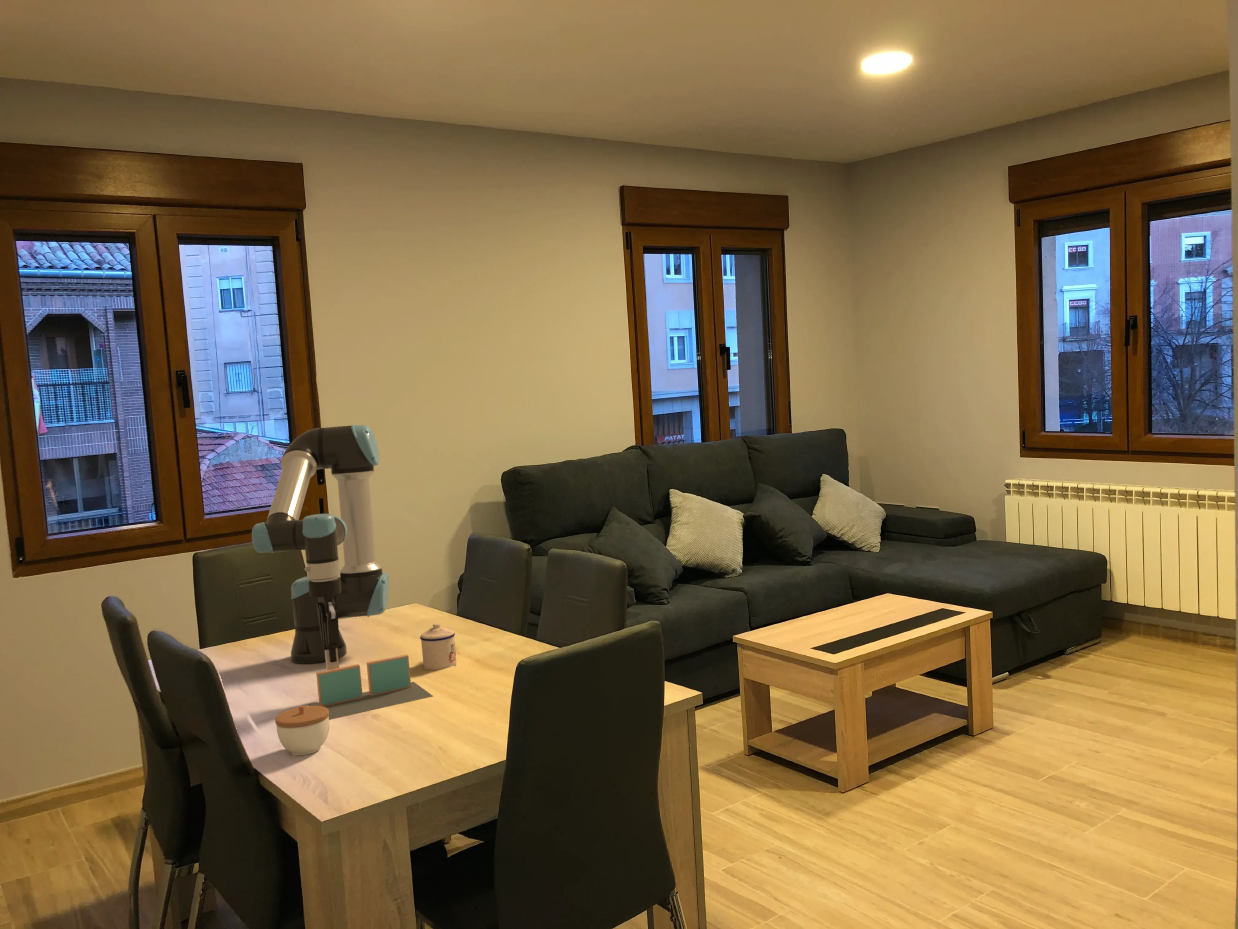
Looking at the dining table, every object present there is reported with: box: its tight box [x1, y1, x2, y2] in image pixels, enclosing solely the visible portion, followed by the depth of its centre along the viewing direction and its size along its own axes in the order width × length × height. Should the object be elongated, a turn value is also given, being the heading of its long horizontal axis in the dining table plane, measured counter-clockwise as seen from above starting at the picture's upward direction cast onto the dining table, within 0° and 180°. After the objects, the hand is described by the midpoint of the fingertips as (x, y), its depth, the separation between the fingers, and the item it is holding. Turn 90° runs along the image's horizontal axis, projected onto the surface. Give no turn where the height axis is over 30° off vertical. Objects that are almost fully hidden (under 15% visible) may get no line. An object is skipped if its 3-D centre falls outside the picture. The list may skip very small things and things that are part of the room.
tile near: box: [315, 663, 363, 707], centre depth 238 cm, size 2×10×8 cm, turn 120°
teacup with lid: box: [419, 622, 457, 671], centre depth 265 cm, size 12×9×12 cm
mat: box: [307, 681, 434, 721], centre depth 238 cm, size 15×26×1 cm, turn 120°
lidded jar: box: [274, 705, 330, 756], centre depth 208 cm, size 11×11×9 cm
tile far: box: [366, 653, 412, 696], centre depth 244 cm, size 2×10×8 cm, turn 120°
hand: (333, 674), depth 242 cm, fingers closed
